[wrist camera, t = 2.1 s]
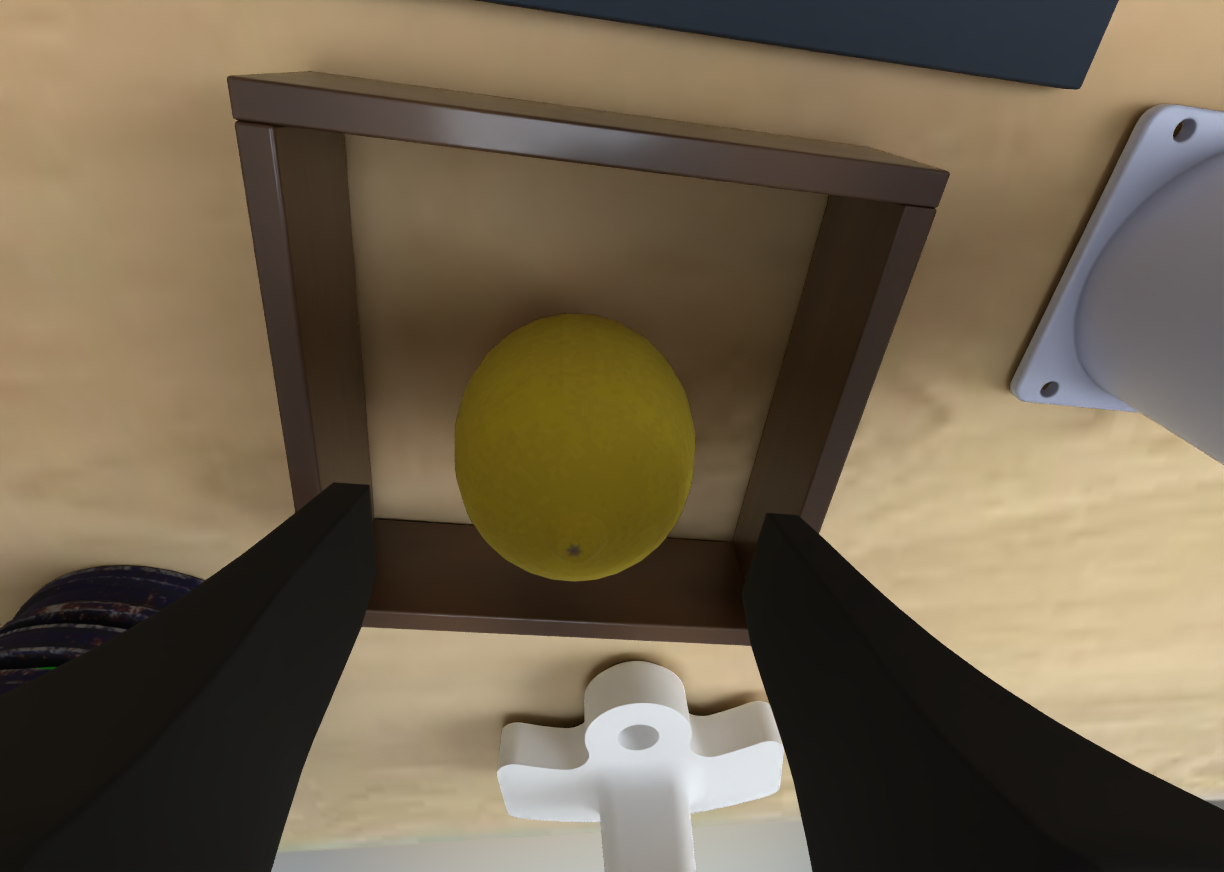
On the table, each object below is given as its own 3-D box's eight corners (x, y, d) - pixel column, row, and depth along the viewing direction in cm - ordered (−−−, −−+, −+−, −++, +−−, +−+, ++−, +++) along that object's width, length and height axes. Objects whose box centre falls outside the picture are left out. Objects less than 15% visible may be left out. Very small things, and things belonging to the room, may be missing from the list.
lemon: (536, 234, 17) (508, 361, 10) (708, 336, 18) (788, 506, 11) (446, 398, 19) (372, 595, 12) (607, 475, 20) (623, 688, 14)
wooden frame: (870, 147, 16) (951, 171, 12) (746, 558, 23) (777, 648, 19) (308, 70, 14) (224, 75, 11) (354, 533, 21) (311, 625, 18)
